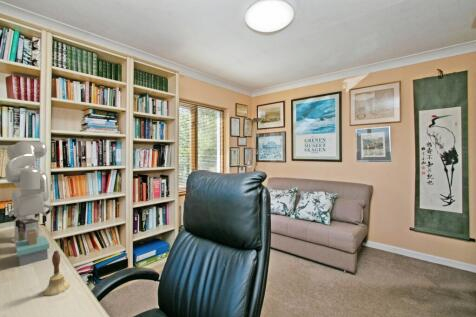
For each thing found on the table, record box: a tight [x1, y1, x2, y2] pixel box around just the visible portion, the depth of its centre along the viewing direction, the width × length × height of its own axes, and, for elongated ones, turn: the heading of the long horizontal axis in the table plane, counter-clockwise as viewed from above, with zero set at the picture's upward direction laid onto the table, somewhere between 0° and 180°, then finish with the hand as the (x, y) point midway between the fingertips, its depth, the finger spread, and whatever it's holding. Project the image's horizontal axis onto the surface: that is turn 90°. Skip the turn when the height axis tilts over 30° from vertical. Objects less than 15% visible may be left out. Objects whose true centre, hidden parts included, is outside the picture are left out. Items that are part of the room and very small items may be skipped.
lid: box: [14, 229, 50, 257], centre depth 117 cm, size 15×12×8 cm
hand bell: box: [42, 249, 70, 297], centre depth 91 cm, size 8×8×16 cm
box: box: [17, 249, 49, 267], centre depth 117 cm, size 14×10×7 cm
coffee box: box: [18, 218, 40, 241], centre depth 129 cm, size 9×6×16 cm
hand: (31, 225), depth 117 cm, fingers open, 9 cm apart
